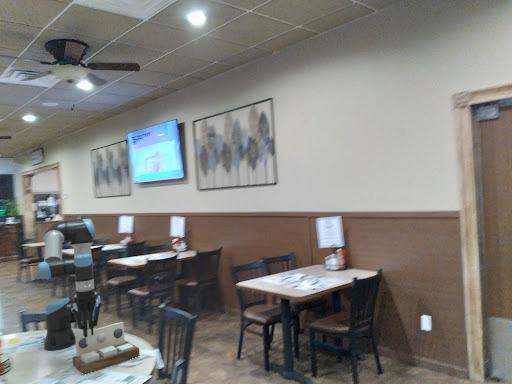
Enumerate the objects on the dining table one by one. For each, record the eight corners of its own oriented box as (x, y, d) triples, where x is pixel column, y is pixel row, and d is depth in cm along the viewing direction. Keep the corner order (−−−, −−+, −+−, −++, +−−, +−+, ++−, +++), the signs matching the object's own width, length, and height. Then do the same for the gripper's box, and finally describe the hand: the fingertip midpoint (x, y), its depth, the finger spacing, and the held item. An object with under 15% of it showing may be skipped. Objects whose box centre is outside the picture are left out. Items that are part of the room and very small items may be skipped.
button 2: (116, 352, 191) (116, 347, 191) (129, 349, 194) (128, 343, 194) (121, 356, 186) (121, 350, 186) (134, 352, 190) (134, 346, 190)
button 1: (80, 361, 180) (80, 355, 180) (94, 357, 184) (94, 351, 184) (85, 364, 176) (85, 358, 176) (99, 360, 179) (99, 354, 179)
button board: (72, 365, 184) (72, 356, 184) (126, 349, 201) (125, 340, 201) (84, 375, 173) (83, 365, 173) (139, 356, 189) (139, 347, 189)
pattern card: (76, 356, 184) (75, 334, 184) (123, 342, 199) (122, 321, 199) (77, 357, 183) (76, 335, 183) (125, 343, 198) (123, 322, 198)
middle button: (99, 355, 185) (98, 349, 185) (112, 351, 189) (111, 345, 189) (104, 359, 181) (103, 352, 181) (117, 354, 185) (117, 348, 185)
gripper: (72, 293, 173) (76, 350, 172) (103, 287, 182) (107, 341, 181) (67, 291, 179) (70, 346, 178) (97, 286, 187) (100, 337, 187)
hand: (89, 343), depth 179 cm, fingers closed
